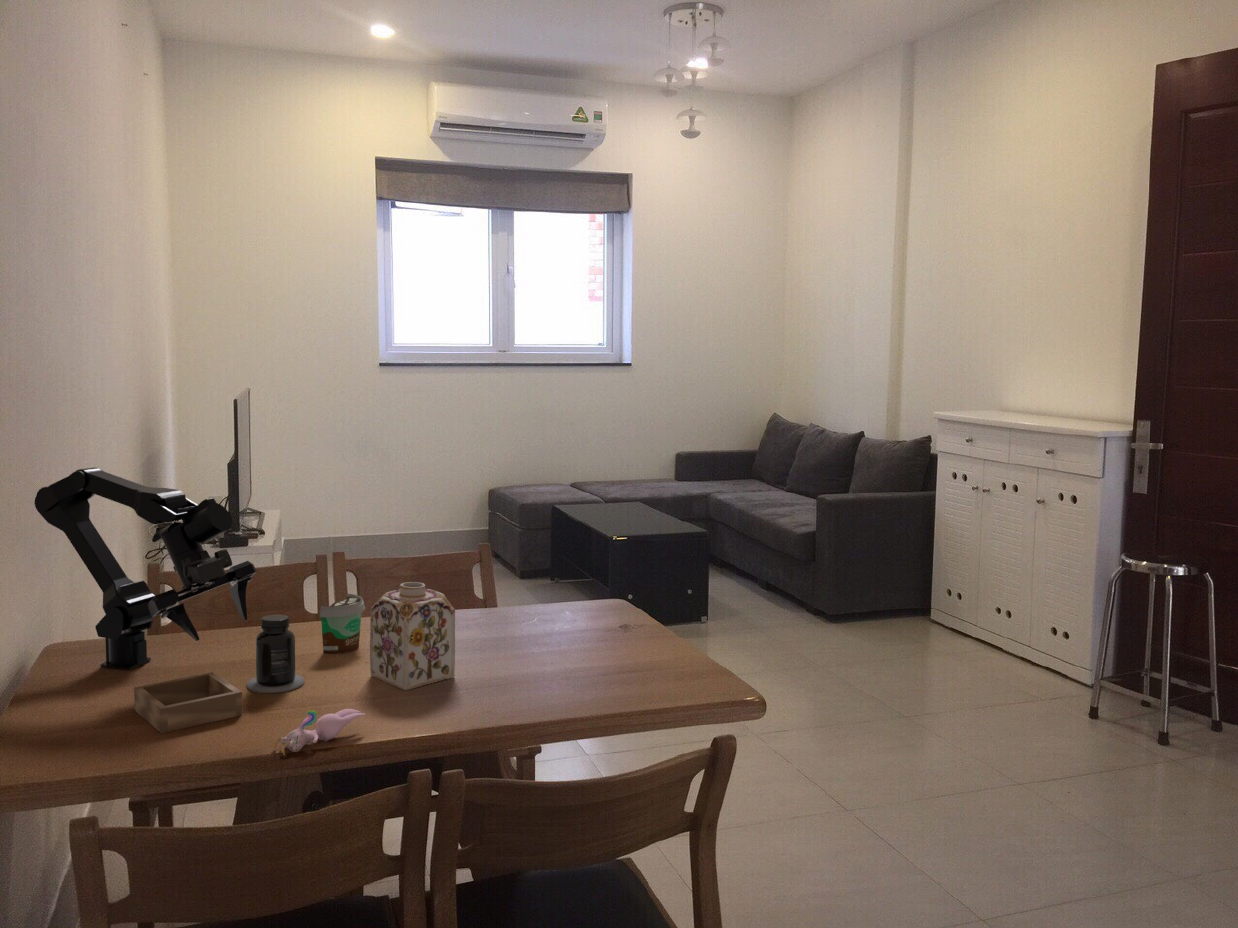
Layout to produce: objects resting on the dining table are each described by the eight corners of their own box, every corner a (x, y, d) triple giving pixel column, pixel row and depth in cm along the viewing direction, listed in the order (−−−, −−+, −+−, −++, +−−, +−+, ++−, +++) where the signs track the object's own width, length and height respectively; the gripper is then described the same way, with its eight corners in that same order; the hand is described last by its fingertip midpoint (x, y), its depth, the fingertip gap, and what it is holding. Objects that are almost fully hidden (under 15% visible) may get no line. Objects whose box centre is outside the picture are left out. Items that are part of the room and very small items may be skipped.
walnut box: (134, 710, 170) (134, 687, 169) (212, 694, 179) (212, 672, 178) (161, 733, 160) (160, 708, 160) (242, 714, 169) (241, 691, 169)
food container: (348, 658, 201) (348, 609, 200) (319, 655, 202) (319, 606, 201) (375, 641, 213) (375, 595, 212) (348, 638, 214) (348, 592, 213)
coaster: (235, 690, 181) (235, 687, 181) (266, 673, 191) (266, 671, 190) (285, 695, 179) (285, 693, 179) (314, 678, 188) (314, 676, 188)
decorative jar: (368, 676, 190) (368, 583, 188) (419, 663, 199) (419, 574, 197) (405, 692, 182) (406, 594, 180) (457, 678, 191) (458, 585, 189)
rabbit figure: (290, 767, 152) (375, 727, 162) (283, 732, 151) (369, 693, 161) (270, 755, 156) (354, 717, 167) (263, 720, 155) (348, 684, 165)
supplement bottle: (300, 676, 188) (300, 613, 187) (288, 688, 181) (287, 623, 180) (263, 674, 188) (263, 611, 187) (249, 686, 182) (249, 621, 180)
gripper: (146, 559, 174) (183, 641, 173) (247, 524, 186) (282, 600, 185) (132, 576, 182) (168, 654, 181) (230, 541, 195) (264, 614, 194)
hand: (222, 630), depth 185 cm, fingers open, 9 cm apart
